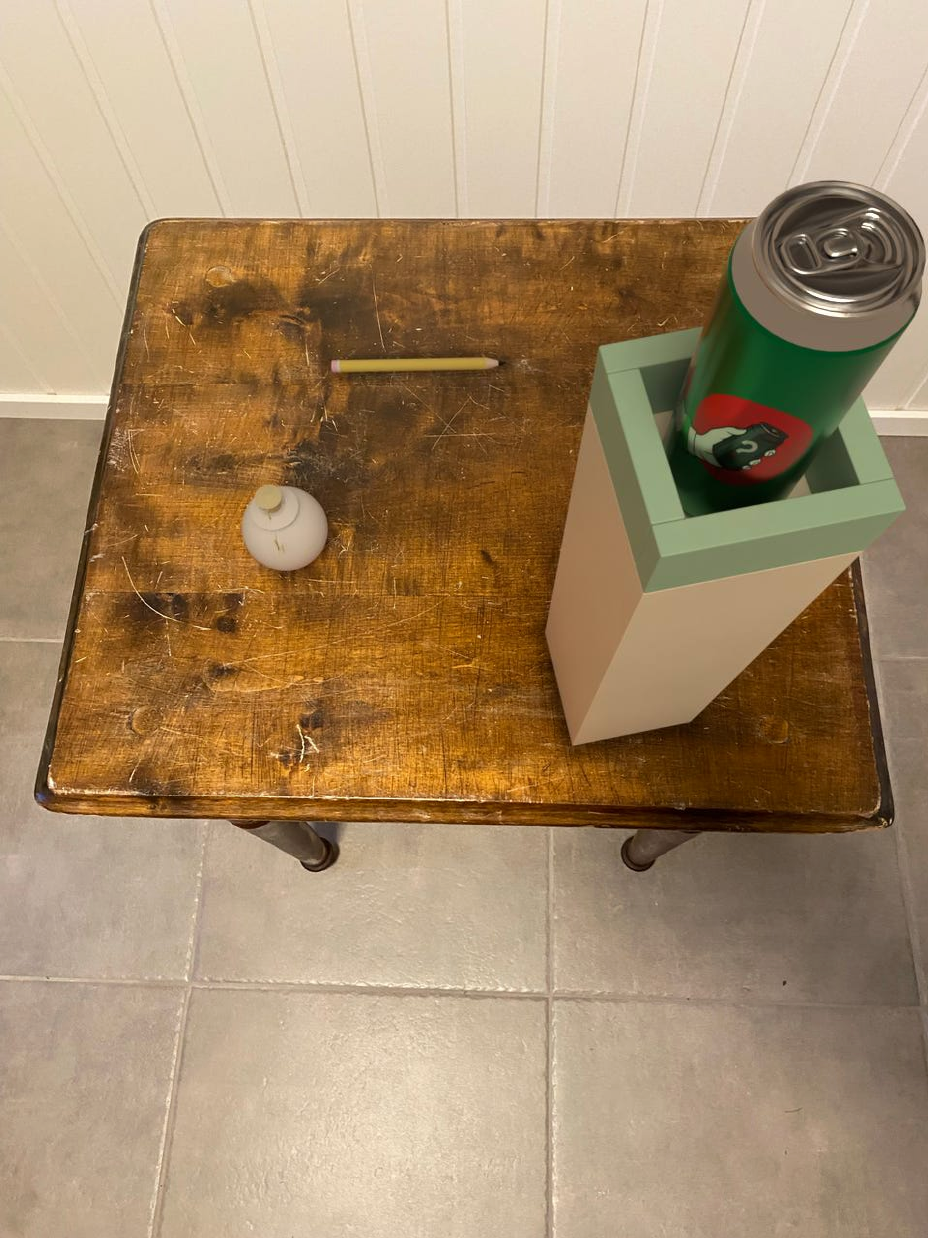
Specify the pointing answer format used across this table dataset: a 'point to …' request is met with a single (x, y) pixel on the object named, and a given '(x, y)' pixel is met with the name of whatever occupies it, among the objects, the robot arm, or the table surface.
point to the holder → (688, 553)
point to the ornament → (284, 527)
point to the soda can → (791, 341)
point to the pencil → (414, 364)
